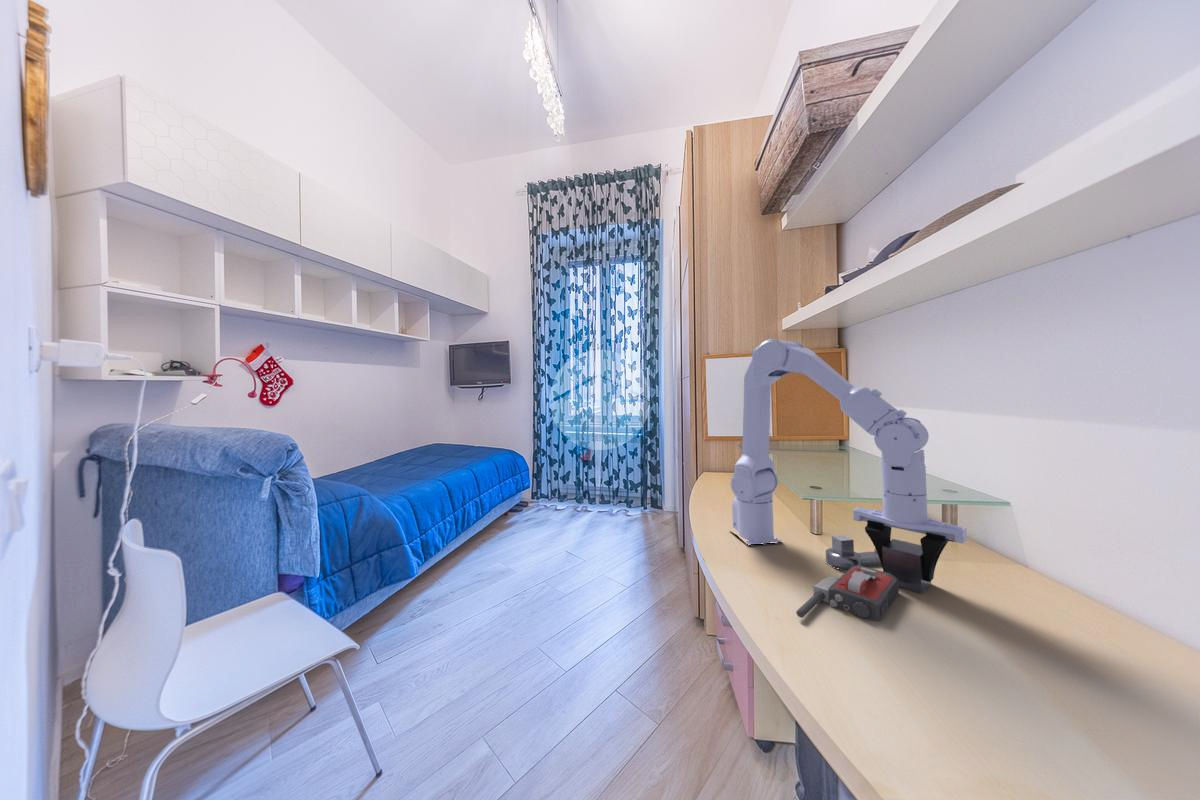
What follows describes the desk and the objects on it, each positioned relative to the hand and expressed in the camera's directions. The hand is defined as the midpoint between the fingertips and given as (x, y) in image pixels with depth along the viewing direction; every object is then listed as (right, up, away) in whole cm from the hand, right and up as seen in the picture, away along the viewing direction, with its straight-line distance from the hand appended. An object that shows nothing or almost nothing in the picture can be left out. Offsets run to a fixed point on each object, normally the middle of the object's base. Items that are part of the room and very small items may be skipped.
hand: (906, 573), depth 62 cm
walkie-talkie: (-13, -3, -5) cm, 14 cm away
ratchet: (0, -2, +8) cm, 8 cm away
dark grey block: (0, -2, 0) cm, 2 cm away
